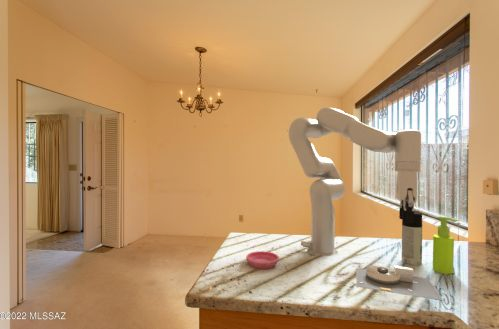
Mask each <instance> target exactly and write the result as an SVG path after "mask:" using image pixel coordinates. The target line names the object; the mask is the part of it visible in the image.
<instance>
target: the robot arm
mask: <svg viewBox="0 0 499 329" xmlns="http://www.w3.org/2000/svg"><path fill="white" fill-rule="evenodd" d="M331 133H335V134H337V135H340V136H342V137H344V138H345V139H347V140H348V141H350V142H352V143H354V144H355V145H358V146H360V147H362V148H363V149H366V150H368V151H369V152H371V151H372V152H374V153H394V172H396V173H397V174H396V185H395V198H396V200H398V201H399V209H398V211H399V213H398V214H399V216H398V218H399V220H402V219H403V223H411V224H413V223H414V212H415V204H414V203H416V202H417V201H418V173H420V172H421V167H422V166H421V164H422V162H421V161H422V159H421V156H422V133H421V131H420V130H418V129H403V130H398V131H395V132H392V131H388V130H387V131H386V130H381V129H378V128H375V127H373V126H370V125H367V124H365V123H364V122H361V121H359V118H357V117H356V116H354V115H351V114H348V113H345V112H344V111H343V110H341V109H338V108H334V107H331V106H330V107H329V106H328V107H327V106H326V107H322V108H320V109H319V110H318V111H317V113H316V118H315V119H314V118H309V117H298V118H295V119H293V121H292V122H291V123H290V126H289V129H288V139H289V143H290V145H291V146H292V148H293V150H294V152H295V155H296V157H297V159H298V161H299V164H300V166H301V168H302V171H303V172H304V174H305V176H306V177H307V178H309V179H315V181H313V182H312V183H311V184H310V186H309V197H310V204H311V225H310V226H311V229H310V230H311V232H310V233H311V234H310V235H311V238H310V240H309V241H305V240H301V241H300V246H302V247H303V248H307V250H306V251H307V254H308V255H310V256H312V257H315V255H318V256H322V257H323V256H325V257H329V256H335V255H337V254H338V253H339V252H338V250H337V249H335V232H336V230H335V228H336V226H335V223H336V220H335V218H336V214H335V213H336V212H335V207H334V206H335V205H334V203H333V201H336V200H339V199H342V198H343V196H344V195H345V193H346V186H345V182H344V181H343V178H342V176H341V175H340V172H339V170H338V168H337V166H336V165H335V163H334V162H333V161H332V159H331V158H328V157H324V156H320V155H319V153H318V152H317V151H316V147H315V146H314V144H313V143H312V142H311V141H310V139H319V138H322V137H325V136H327V135H329V134H331ZM309 138H310V139H309Z"/></svg>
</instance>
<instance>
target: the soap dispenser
mask: <svg viewBox="0 0 499 329" xmlns="http://www.w3.org/2000/svg"><path fill="white" fill-rule="evenodd" d="M437 218H438V220H440V224H439V225H438V226H437V233H436V234H433V237H432V239H433V241H432V270H433V271H434V272H437V273H439V274H446V275H452V274H454V259H455V258H454V252H455V251H454V250H455V249H454V248H455V247H454V246H455V238H454V236H450V234H451V233H450V231H451V230H450V228H451V227H449V226H448V225H447V224H448V222H447V221H451V222H453V223H454V222H458V221H459V220H458V219H457V218H456V219H455V218H453V217H449V216H438V217H437Z"/></svg>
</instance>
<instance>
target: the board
mask: <svg viewBox="0 0 499 329" xmlns="http://www.w3.org/2000/svg"><path fill="white" fill-rule="evenodd" d="M355 271H356V272H355V274H356V277H355V278H356V287H357V288H363V289H369V290H374V291H375V290H376V291H380V292H382V291H383V292H386V293H387V292H388V293H392V294H394V293H395V294H399V295H407V296H414V297H417V298H418V297H419V298H425V299H432V300H438V301H443V298H442V297H441V296H440V294H439V292H438V290H436V288H435V287H434V285H433V283H432V282H431V280H430V279H429V278H427V277H419V276H415V275H413V283H411V282H404V281H400V283H398V284H394V285H388V284H381V283H377V282H374V281H372V280H370V279H369V278H367V276H366V269H362V268H355Z"/></svg>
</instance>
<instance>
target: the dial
mask: <svg viewBox="0 0 499 329" xmlns="http://www.w3.org/2000/svg"><path fill="white" fill-rule="evenodd" d="M365 270H366V276H367V278H369V279H370V280H372V281H374V282H377V283H381V284H388V285H394V284H398V283H400V281H404V282H411V283H413V276H414V269H413V267H406V266H399V265H394V269H393V268H391V267H388V266H383V265H369V266H367V267H365Z"/></svg>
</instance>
